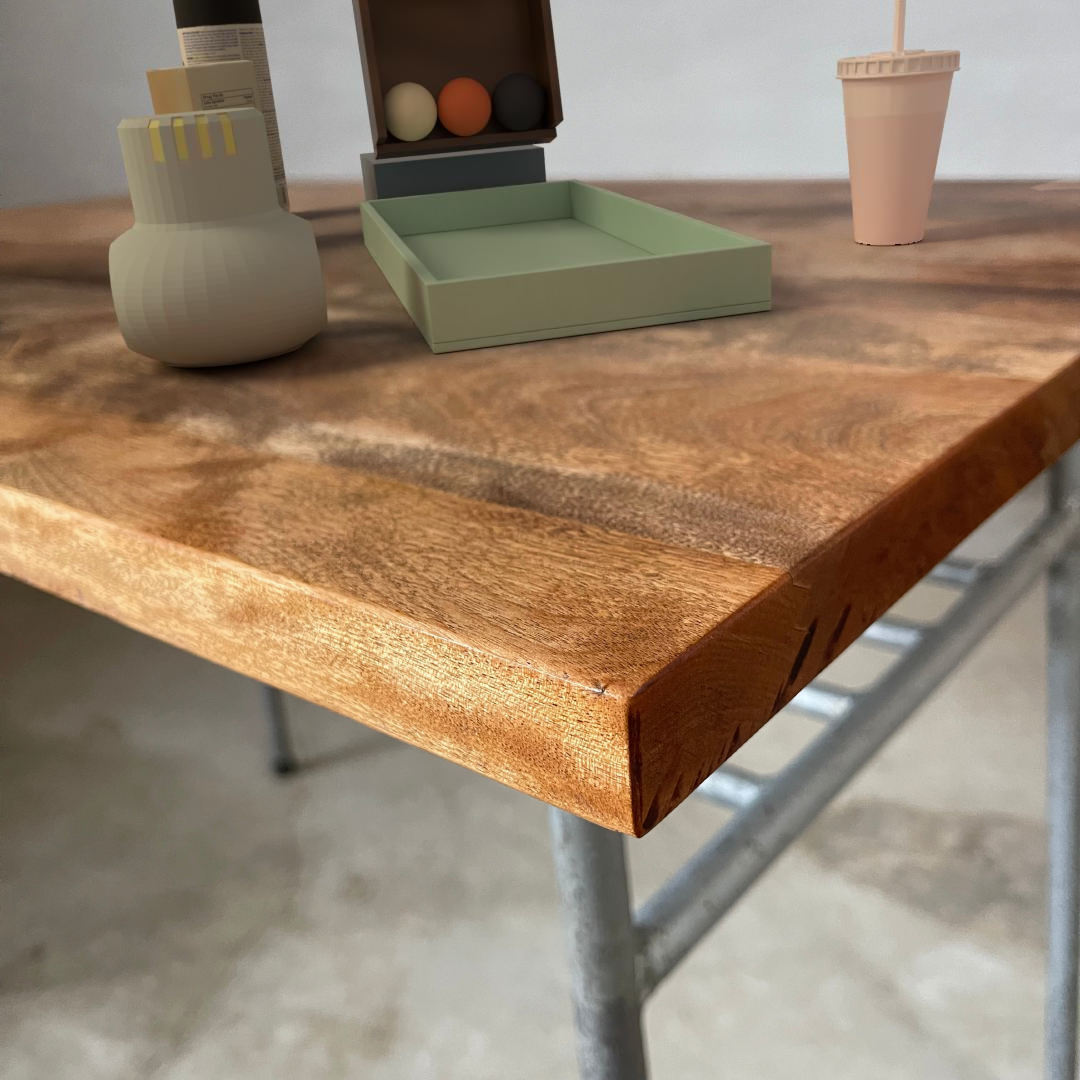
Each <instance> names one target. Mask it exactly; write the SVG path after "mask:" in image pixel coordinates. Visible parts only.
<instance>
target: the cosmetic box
mask: <svg viewBox="0 0 1080 1080" xmlns="http://www.w3.org/2000/svg"><path fill="white" fill-rule="evenodd" d="M145 75H146V80H147V84H148V89H149V93H150V98H151V102H152V108H153V112H154V115H160V114H171V113H181V112H193V111H205V110H218V109H232V108H256V109H257V110H258V111H260V112H261V113H262V108H261V103H260V97H259V92H258V86H257V81H256V75H255V69H254V63H253V61H249V60H241V61H228V62H215V63H205V64H195V65H186V66H183V65H179V66H171V67H162V68H154V69H149V70H146V71H145Z"/></svg>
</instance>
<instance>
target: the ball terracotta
mask: <svg viewBox="0 0 1080 1080" xmlns="http://www.w3.org/2000/svg"><path fill="white" fill-rule="evenodd" d="M437 113H438V116H439V119H440V121H441V123H442V124H443V126H444V127H445V128H446V129H447V130H449V131H450V132H451V133H453V134H456V135H459V136H471V135H474V134H476V133H478V132H479V131H481V130H482V129H483V128H484V127H485V126H486V124H487V123H488V121H489V118H490V115H491V100H490V97H489V94H488V92H487V91H486V89H485V88H484V87H483V86H482V85H481V84H480V83H479V82H477V81H475V80H473V79H470V78H457V79H454V80H452V81H450V82H449V83H447V84H446V85H445V86H444V87H443V88H442V90H441V92H440V94H439V96H438V100H437Z"/></svg>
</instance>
